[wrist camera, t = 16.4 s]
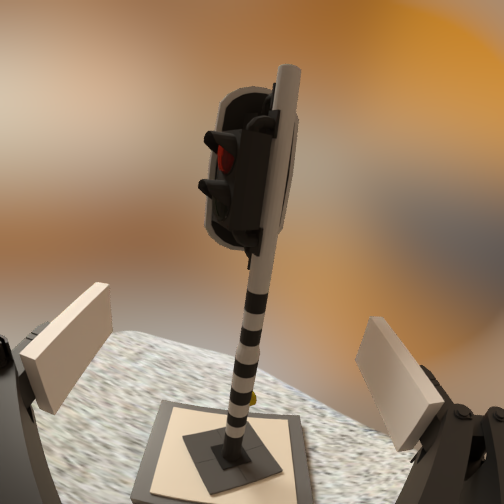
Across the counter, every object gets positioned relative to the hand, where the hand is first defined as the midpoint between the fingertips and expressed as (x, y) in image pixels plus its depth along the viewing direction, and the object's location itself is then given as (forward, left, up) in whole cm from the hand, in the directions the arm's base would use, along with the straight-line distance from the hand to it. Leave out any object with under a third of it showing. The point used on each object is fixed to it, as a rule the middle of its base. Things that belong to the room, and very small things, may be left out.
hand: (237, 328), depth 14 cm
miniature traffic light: (+1, +4, -17) cm, 17 cm away
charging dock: (+1, +4, -18) cm, 19 cm away
